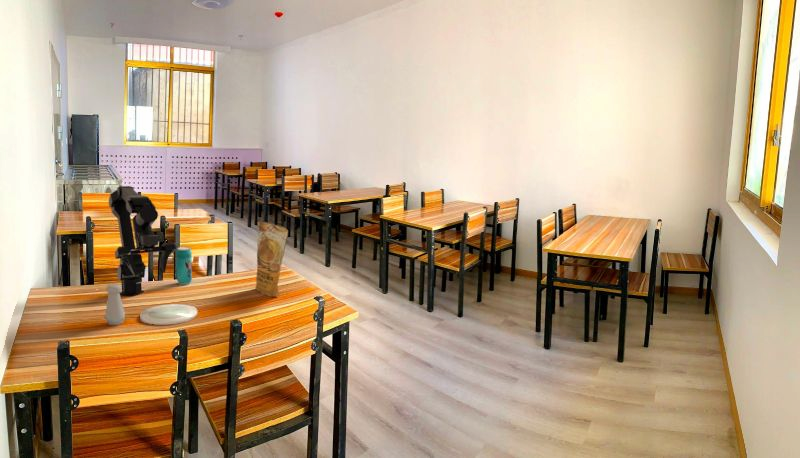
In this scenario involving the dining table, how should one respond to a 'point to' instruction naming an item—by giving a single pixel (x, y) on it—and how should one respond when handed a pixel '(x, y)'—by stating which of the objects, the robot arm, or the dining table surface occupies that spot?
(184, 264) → the beverage can
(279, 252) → the pancake mix bag
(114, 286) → the salt shaker
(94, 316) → the dining table surface
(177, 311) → the dish
